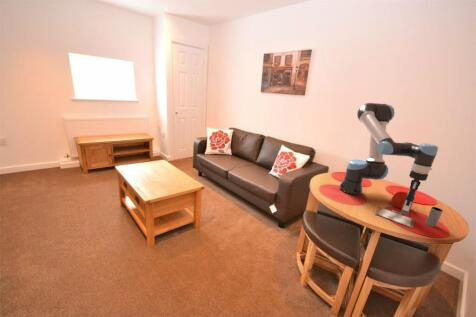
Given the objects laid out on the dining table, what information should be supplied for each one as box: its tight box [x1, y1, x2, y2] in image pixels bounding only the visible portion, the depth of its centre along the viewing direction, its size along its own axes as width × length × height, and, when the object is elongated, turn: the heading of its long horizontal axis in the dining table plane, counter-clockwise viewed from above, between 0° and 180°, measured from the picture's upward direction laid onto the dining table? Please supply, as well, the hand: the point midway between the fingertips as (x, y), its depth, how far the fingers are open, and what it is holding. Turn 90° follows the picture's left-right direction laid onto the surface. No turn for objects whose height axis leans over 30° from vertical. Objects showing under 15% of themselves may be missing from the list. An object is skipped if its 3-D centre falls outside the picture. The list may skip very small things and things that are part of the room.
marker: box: [399, 190, 417, 216], centre depth 120 cm, size 4×4×14 cm
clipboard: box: [374, 206, 416, 230], centre depth 124 cm, size 18×13×1 cm
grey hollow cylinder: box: [425, 206, 443, 228], centre depth 117 cm, size 4×4×10 cm
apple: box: [390, 191, 408, 210], centre depth 135 cm, size 10×10×10 cm
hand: (405, 208), depth 122 cm, fingers closed on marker, 4 cm apart
